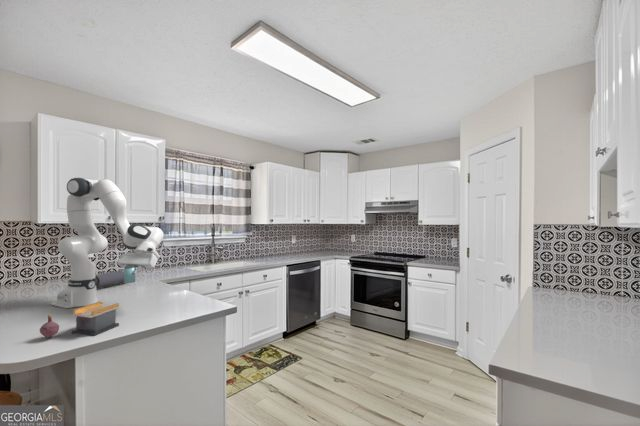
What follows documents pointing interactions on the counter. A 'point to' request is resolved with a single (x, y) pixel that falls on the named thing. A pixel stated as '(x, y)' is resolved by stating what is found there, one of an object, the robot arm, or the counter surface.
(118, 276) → the bluetooth speaker
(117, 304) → the block
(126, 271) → the teal glass jar
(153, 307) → the counter surface
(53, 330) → the vegetable
